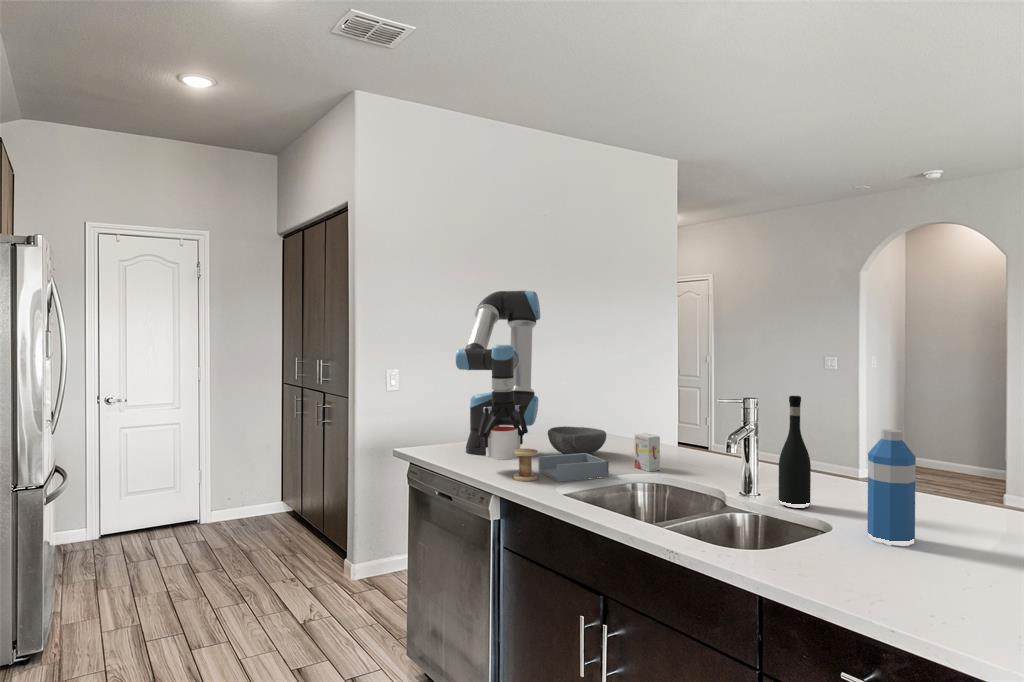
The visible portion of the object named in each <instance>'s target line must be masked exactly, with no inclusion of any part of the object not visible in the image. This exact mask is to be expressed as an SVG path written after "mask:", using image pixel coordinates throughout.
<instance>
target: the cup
mask: <svg viewBox="0 0 1024 682" xmlns="http://www.w3.org/2000/svg"><path fill="white" fill-rule="evenodd" d="M489 438H491V457H490V459H492V460H494V461H510V460H515V459H516V458H517V457H518V456H517V455H514V454H513V450H515V449H518V429H515V428H514V426H503V425H500V426H498V427H493V429H492V430H491V433H490V435H489Z"/></svg>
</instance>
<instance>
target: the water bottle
mask: <svg viewBox="0 0 1024 682" xmlns="http://www.w3.org/2000/svg"><path fill="white" fill-rule="evenodd" d="M916 459H917V458H916V455H915V454H914V452H912V450H911V449H910V447H908V446H907V444H906V443H905V442H904V441H903V431H902V430H900V429H899V430H898V429H893V428H892V429H887V428H884V429H881V430H880V439H878V441H877V442H876V443H875V445H874V446H873V447H872V448H871V449H870V450H869V452H868V453H867V532H868V533H869V534H871V535H872V536H873V537H876V538H881V539H885V540H889V541H910V540H912V539H915V540H916V535H915V534H916Z"/></svg>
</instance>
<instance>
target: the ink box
mask: <svg viewBox="0 0 1024 682" xmlns="http://www.w3.org/2000/svg"><path fill="white" fill-rule="evenodd" d="M660 442H661V437H660V436H659V435H656V434H652V433H648V432H645V433H644V432H643V433H637V434H634V468H635V467H636V469H638V470H642V471H646V472H649V473H650V472H658V471H657V470H661V459H660V458H661V455H660V454H661V443H660Z"/></svg>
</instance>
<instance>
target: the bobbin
mask: <svg viewBox="0 0 1024 682" xmlns="http://www.w3.org/2000/svg"><path fill="white" fill-rule="evenodd" d="M513 454H514V455H517V457H518V460H519V461H518V472H517V473H514V474H513V475H512V479H513V480H514V481H516V482H533V481H536V480H537V481H538V479H539V476H538V474H537V473H532V464H533V463H532V461H533V459H532V458H533V456H537V455H538V454H539V451H538V450H537V449H535V448H520V449H515V450H513Z"/></svg>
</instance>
